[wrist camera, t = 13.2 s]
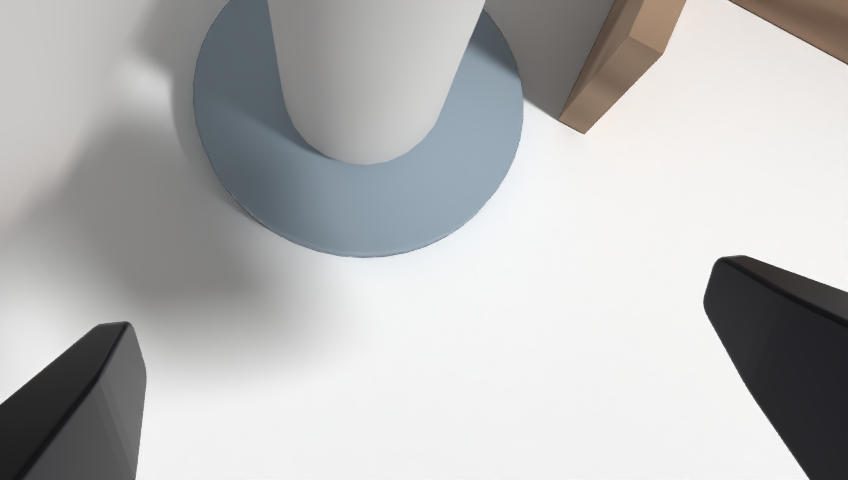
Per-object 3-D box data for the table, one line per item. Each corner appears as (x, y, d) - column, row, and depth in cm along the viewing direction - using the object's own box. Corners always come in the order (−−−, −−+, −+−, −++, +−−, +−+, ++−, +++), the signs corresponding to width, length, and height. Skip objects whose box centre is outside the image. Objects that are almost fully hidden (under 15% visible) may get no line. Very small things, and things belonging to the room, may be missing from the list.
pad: (266, 309, 17) (263, 304, 17) (154, 13, 19) (146, -3, 18) (566, 191, 20) (575, 183, 19) (442, -64, 21) (446, -81, 21)
